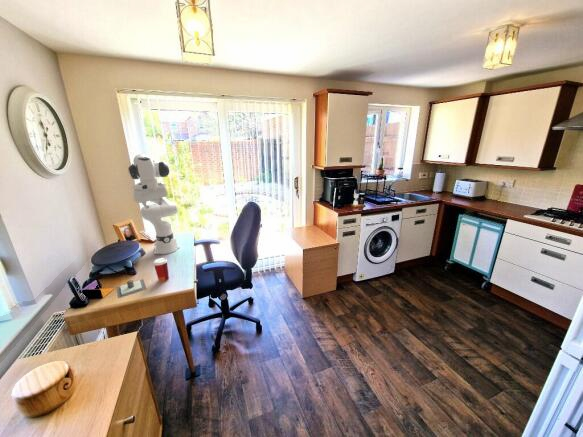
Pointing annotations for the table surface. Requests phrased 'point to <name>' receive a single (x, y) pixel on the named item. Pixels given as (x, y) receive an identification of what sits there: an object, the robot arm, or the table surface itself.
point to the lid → (130, 287)
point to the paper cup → (161, 269)
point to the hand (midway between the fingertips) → (153, 206)
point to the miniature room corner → (95, 291)
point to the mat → (131, 292)
